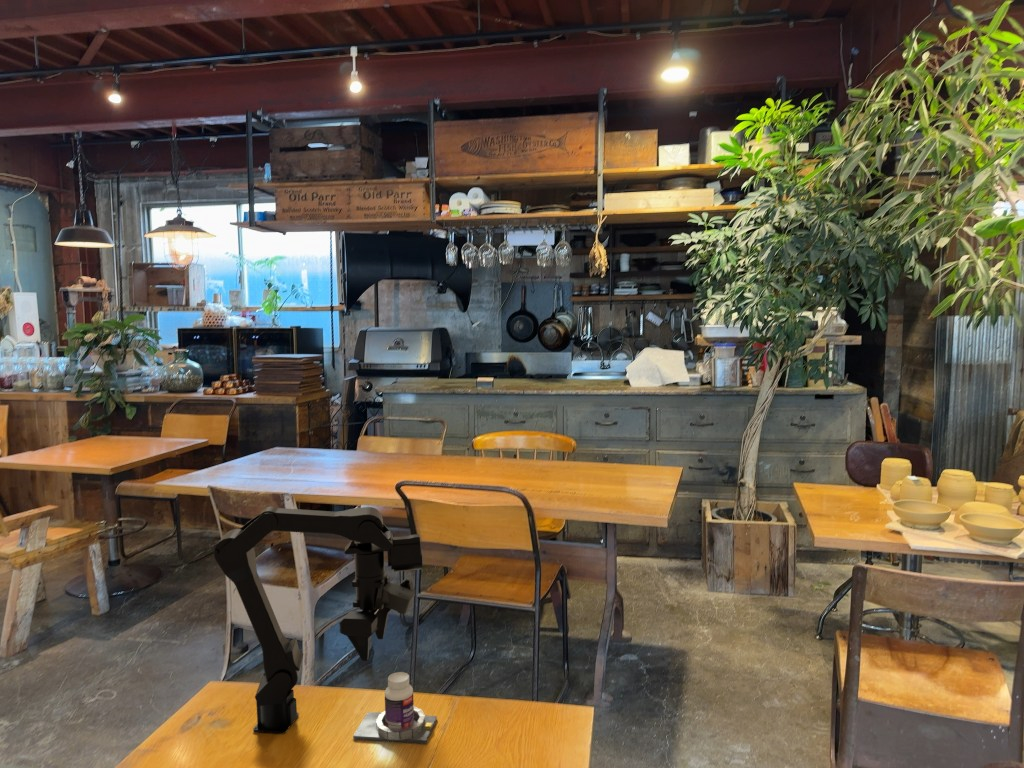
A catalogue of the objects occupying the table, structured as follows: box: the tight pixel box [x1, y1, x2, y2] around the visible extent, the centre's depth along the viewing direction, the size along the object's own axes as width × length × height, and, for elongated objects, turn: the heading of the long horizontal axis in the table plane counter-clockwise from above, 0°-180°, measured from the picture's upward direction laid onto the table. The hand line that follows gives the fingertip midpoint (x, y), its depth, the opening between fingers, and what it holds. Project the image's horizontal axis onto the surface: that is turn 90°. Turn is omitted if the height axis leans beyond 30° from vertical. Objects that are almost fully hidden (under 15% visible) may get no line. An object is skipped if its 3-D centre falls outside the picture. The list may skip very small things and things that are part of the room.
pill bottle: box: [384, 671, 415, 729], centre depth 130 cm, size 5×5×10 cm
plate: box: [352, 711, 438, 745], centre depth 130 cm, size 14×8×1 cm, turn 82°
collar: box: [376, 705, 432, 740], centre depth 130 cm, size 10×9×2 cm
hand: (373, 649), depth 135 cm, fingers open, 9 cm apart
